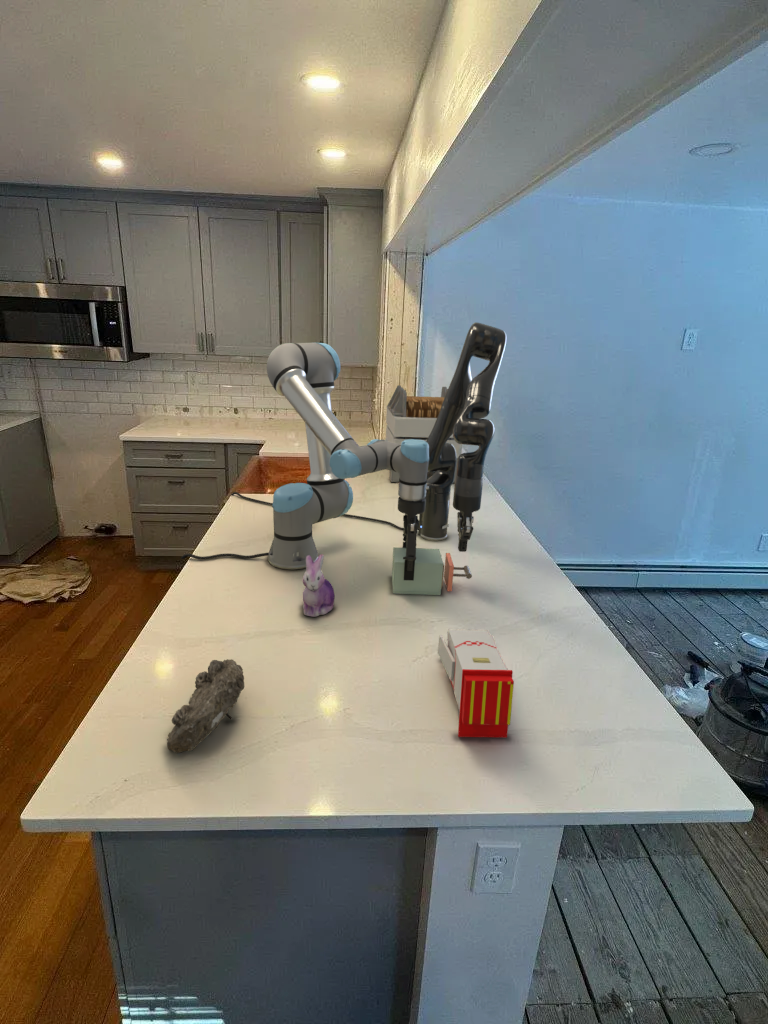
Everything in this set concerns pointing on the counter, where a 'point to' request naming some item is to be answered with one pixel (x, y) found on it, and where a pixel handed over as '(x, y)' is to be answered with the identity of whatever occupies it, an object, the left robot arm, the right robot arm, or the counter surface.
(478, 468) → the right robot arm
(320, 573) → the figurine
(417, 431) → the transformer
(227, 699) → the fossil
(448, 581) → the drawer
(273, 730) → the counter surface
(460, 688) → the toy
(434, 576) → the cabinet
